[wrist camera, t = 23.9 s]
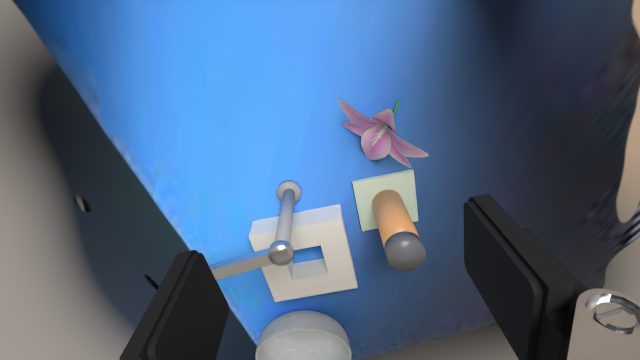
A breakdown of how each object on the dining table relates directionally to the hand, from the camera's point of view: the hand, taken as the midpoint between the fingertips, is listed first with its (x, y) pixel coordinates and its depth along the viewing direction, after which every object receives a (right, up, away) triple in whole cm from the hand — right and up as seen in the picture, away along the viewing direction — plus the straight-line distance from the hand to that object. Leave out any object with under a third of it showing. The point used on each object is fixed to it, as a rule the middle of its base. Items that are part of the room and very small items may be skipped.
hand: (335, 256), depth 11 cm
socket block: (-3, -6, +41) cm, 41 cm away
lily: (+7, +11, +32) cm, 35 cm away
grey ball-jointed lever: (-10, -7, +26) cm, 29 cm away
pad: (+10, 0, +38) cm, 39 cm away
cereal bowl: (-4, -26, +51) cm, 58 cm away
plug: (+10, -1, +38) cm, 39 cm away
